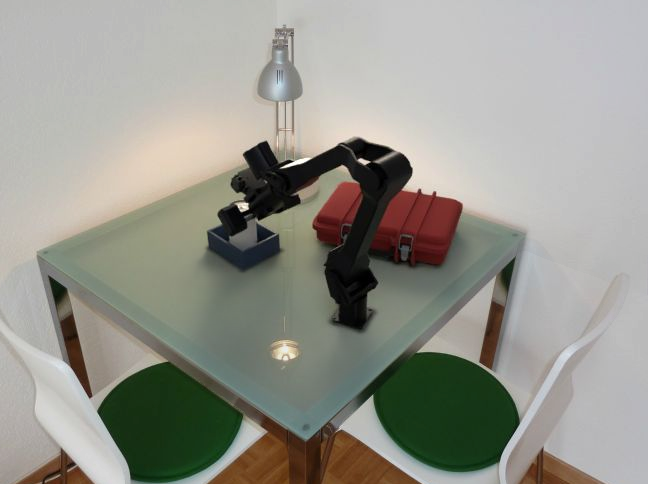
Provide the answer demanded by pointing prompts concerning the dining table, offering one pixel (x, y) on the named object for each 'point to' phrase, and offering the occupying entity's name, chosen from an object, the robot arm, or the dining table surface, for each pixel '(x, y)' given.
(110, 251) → the dining table surface
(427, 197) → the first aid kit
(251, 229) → the can
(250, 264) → the case
